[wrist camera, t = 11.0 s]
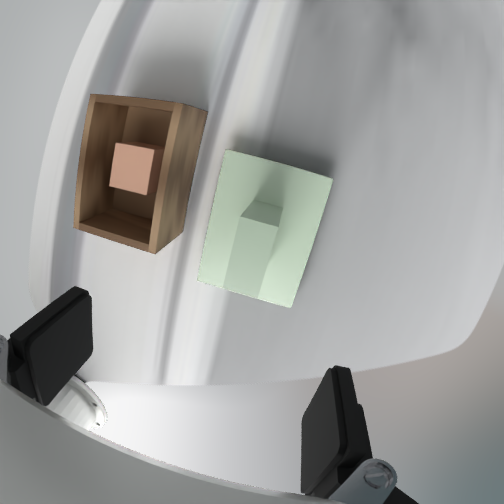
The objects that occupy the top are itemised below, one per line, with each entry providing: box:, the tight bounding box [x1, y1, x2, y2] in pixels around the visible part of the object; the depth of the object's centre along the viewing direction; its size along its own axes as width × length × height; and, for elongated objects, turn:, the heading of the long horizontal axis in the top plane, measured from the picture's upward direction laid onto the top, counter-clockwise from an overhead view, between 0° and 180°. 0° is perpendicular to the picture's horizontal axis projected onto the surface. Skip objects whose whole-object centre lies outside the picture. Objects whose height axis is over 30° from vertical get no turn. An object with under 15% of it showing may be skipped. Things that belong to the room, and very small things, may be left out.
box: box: [73, 94, 208, 254], centre depth 24 cm, size 11×8×6 cm
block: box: [109, 142, 165, 195], centre depth 24 cm, size 4×4×4 cm
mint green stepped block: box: [197, 149, 333, 308], centre depth 23 cm, size 12×9×8 cm
